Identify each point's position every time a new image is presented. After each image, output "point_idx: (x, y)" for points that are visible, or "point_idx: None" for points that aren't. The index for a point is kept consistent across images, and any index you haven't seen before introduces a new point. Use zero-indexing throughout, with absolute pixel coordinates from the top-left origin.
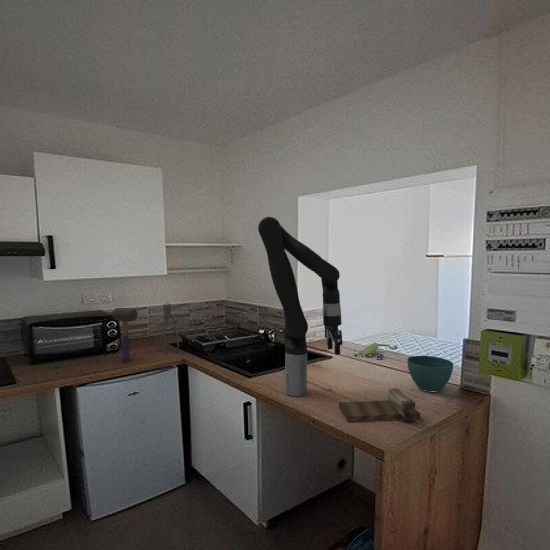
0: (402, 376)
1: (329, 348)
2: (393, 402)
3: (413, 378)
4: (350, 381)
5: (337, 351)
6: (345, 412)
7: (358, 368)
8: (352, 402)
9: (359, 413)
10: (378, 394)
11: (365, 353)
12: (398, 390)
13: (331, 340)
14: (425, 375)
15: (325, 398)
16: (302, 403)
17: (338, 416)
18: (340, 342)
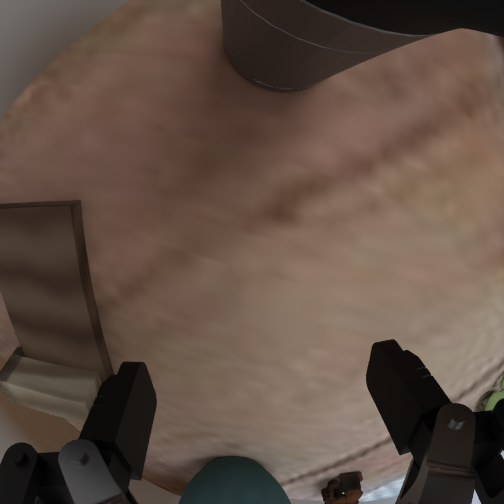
0: (334, 448)
1: (375, 358)
2: (59, 374)
3: (230, 473)
4: (355, 325)
5: (100, 400)
6: (1, 208)
7: (444, 369)
8: (73, 261)
9: (1, 253)
10: (203, 374)
11: (492, 397)
12: (76, 416)
13: (409, 448)
14: (187, 495)
15: (177, 163)
16: (137, 48)
17: (20, 181)
18: (37, 498)
